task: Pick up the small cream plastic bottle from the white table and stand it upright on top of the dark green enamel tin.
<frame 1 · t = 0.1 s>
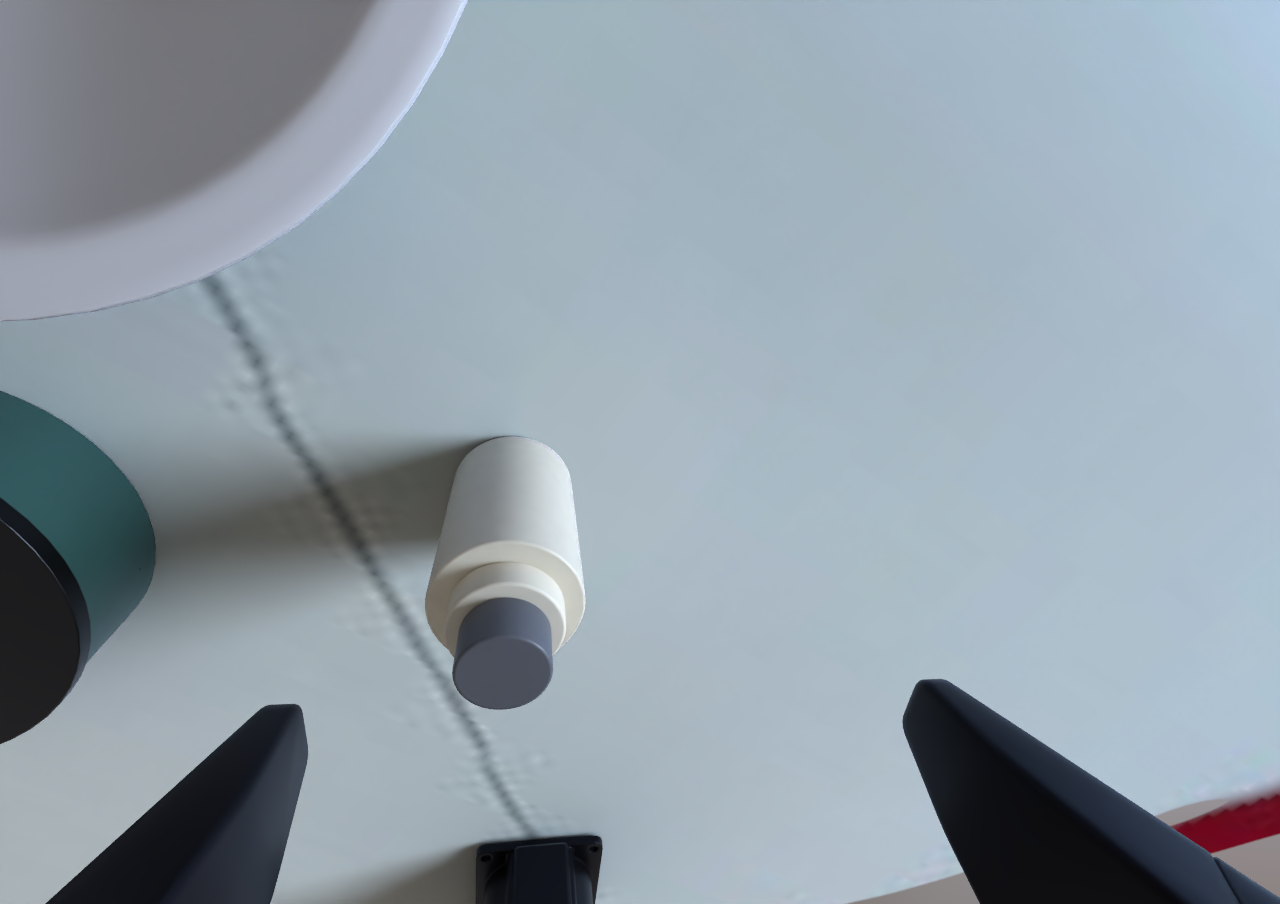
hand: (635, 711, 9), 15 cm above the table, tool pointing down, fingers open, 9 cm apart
bottle: (513, 488, 23), on the table
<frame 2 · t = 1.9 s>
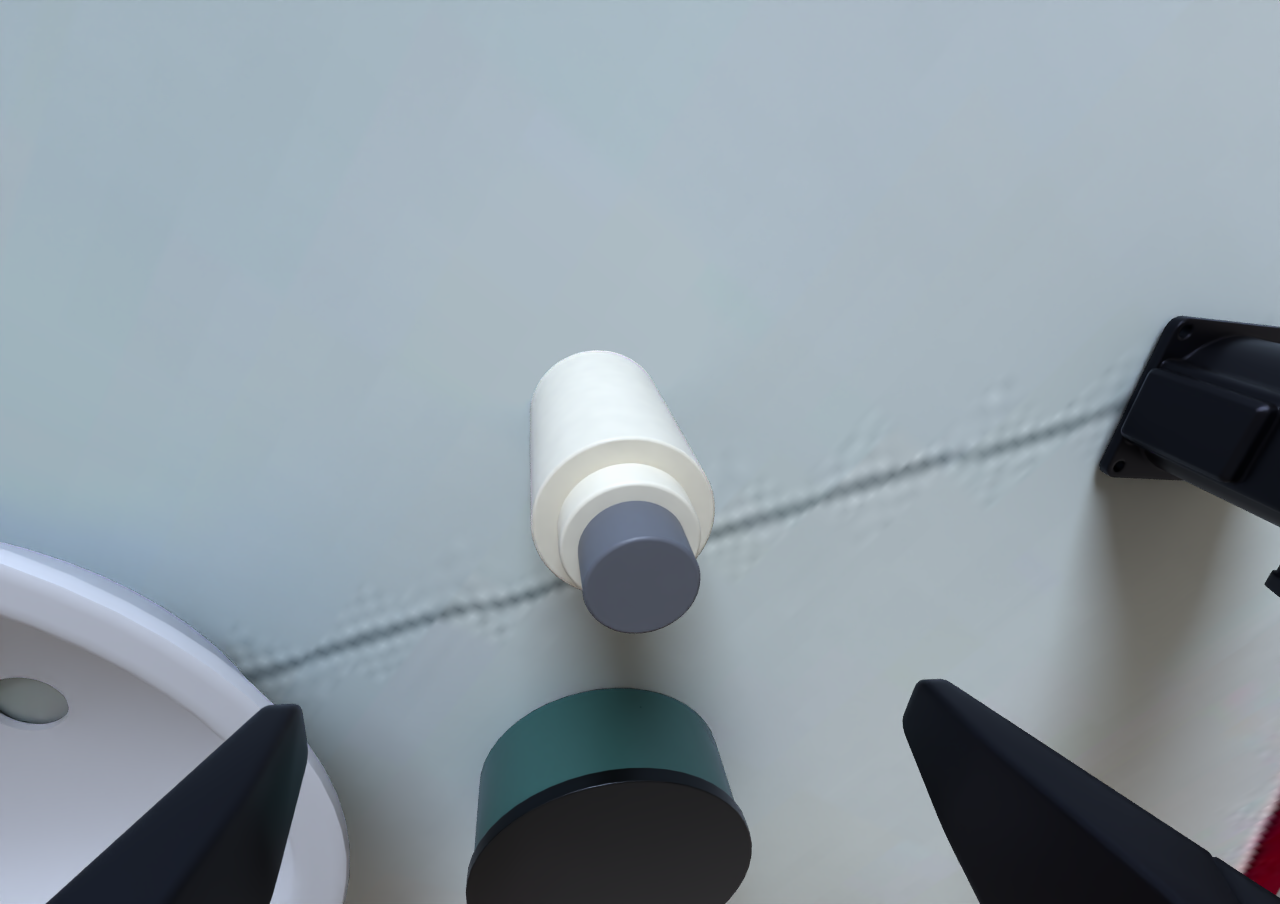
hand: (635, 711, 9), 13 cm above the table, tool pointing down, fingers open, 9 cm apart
enamel tin: (601, 776, 28), on the table
bottle: (596, 413, 21), on the table
soup bowl: (37, 692, 22), on the table
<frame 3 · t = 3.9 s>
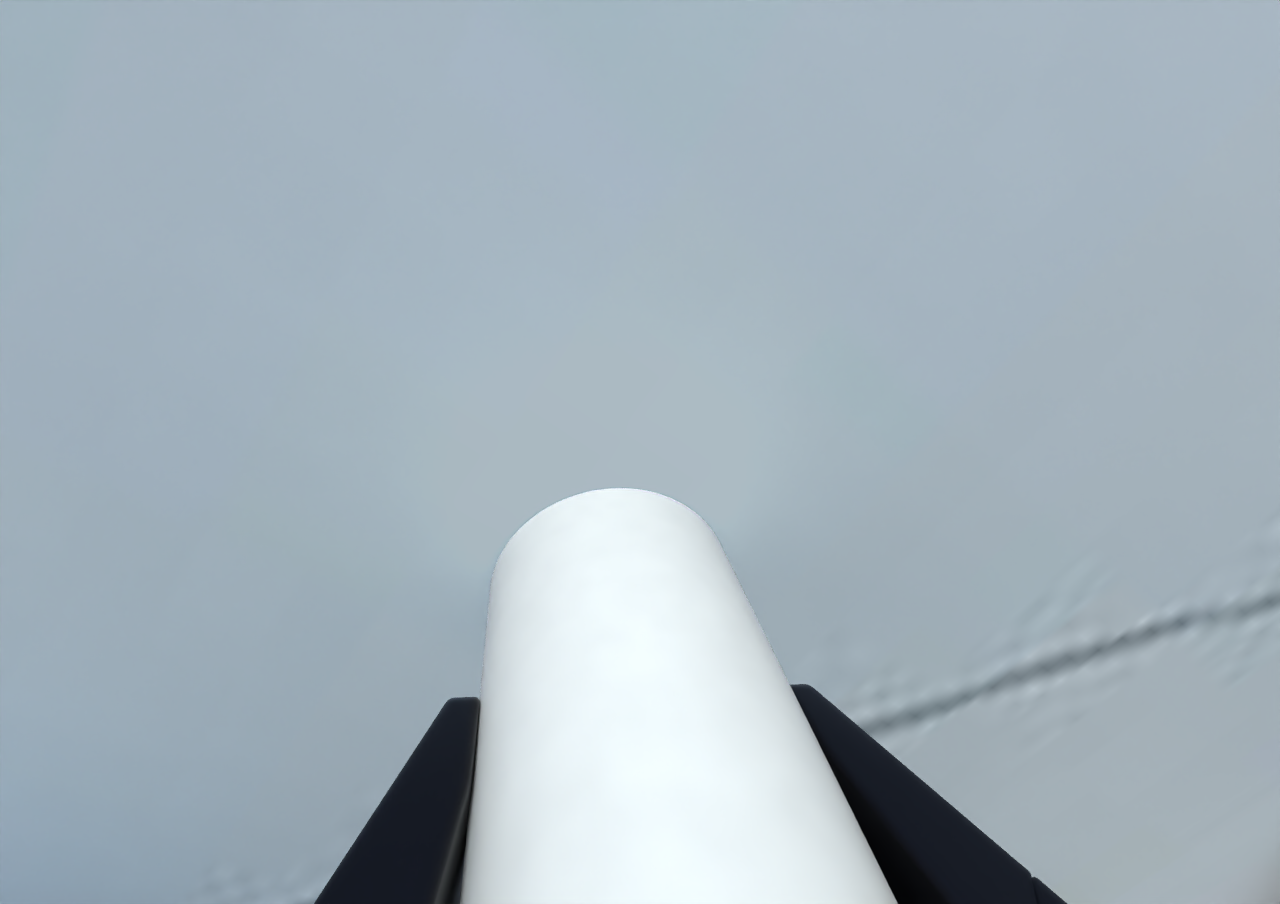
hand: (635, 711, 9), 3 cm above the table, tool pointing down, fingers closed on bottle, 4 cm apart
bottle: (611, 590, 11), on the table, touching gripper
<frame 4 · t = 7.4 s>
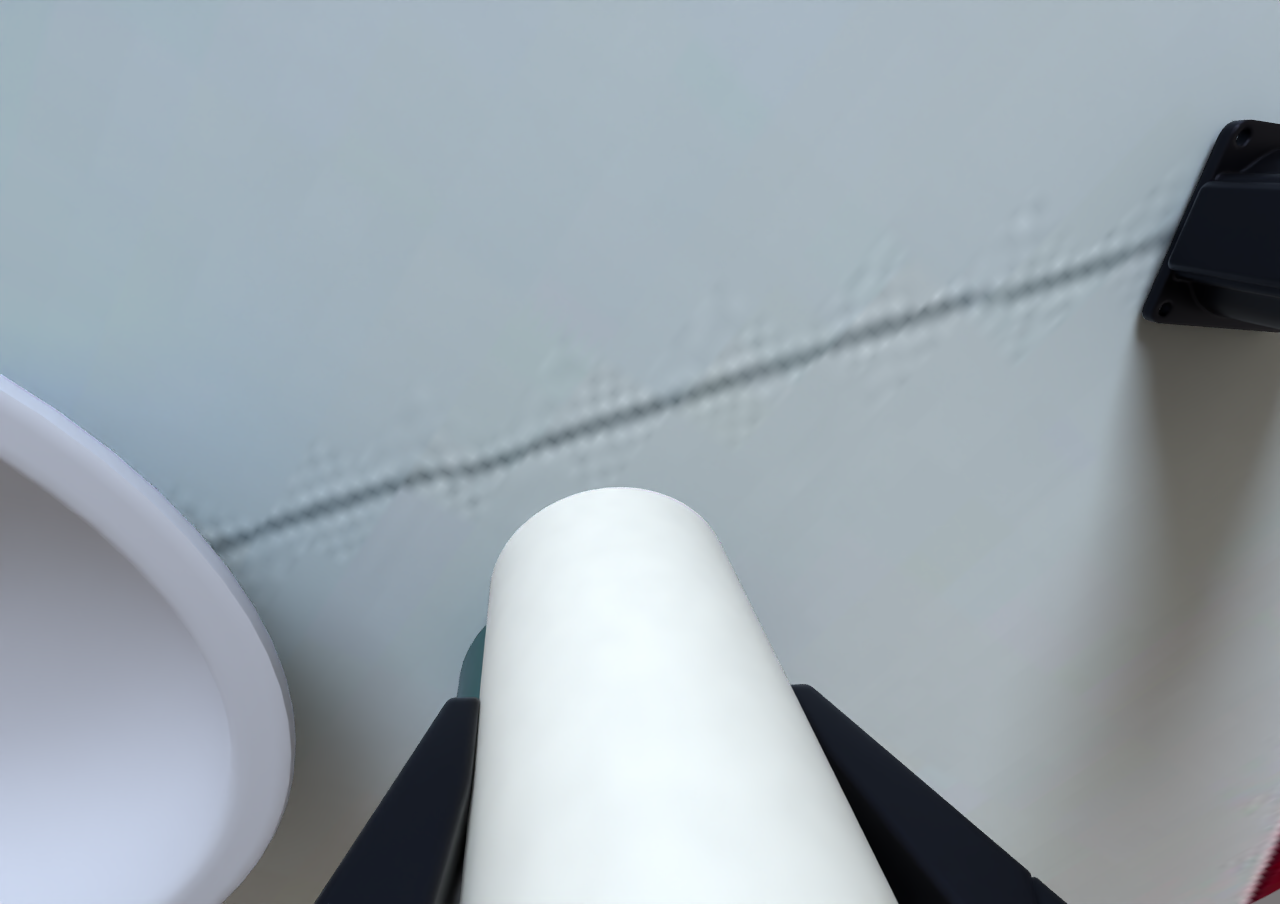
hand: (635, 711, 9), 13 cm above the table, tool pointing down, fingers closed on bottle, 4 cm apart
enamel tin: (593, 681, 26), on the table
bottle: (611, 589, 11), point 10 cm above the table, touching gripper
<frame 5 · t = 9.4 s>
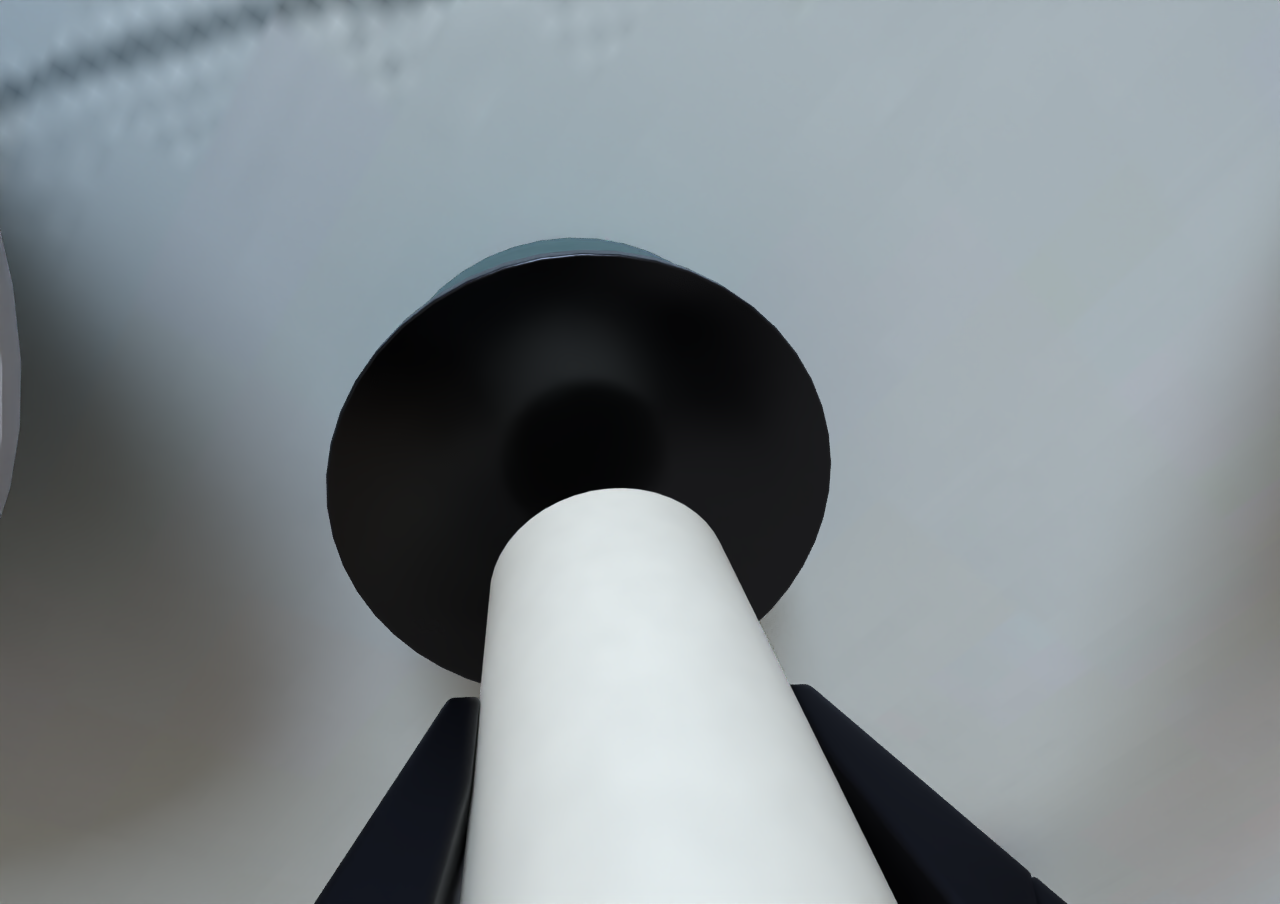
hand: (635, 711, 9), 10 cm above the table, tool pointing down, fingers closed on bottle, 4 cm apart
enamel tin: (580, 433, 18), on the table
bottle: (611, 590, 11), point 8 cm above the table, touching gripper
when the fingers open (7 cm above the table, at t = 10.7 s): bottle stays where it is, resting on enamel tin.
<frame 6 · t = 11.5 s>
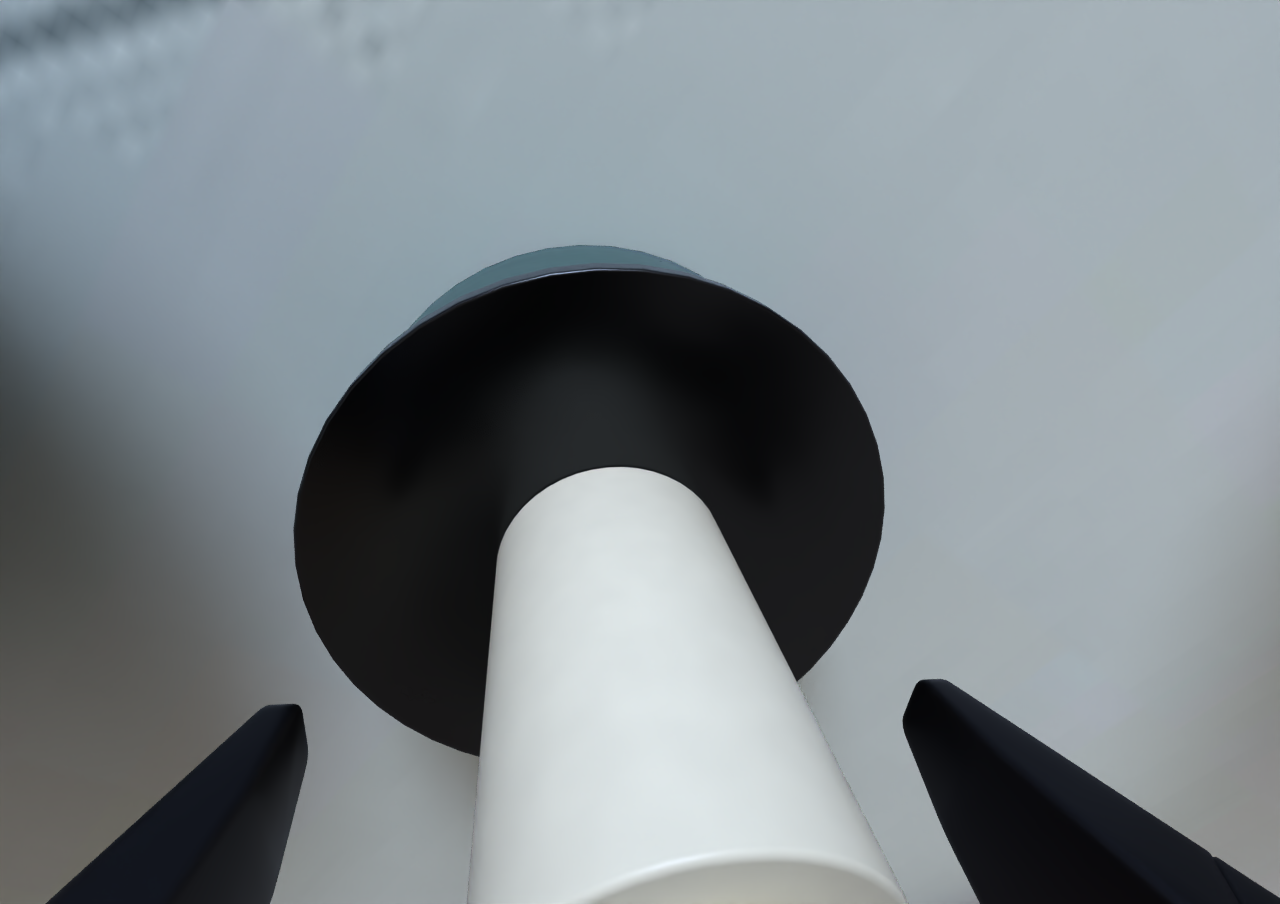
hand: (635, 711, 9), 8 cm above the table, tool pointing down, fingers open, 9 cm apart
enamel tin: (590, 464, 16), on the table, touching bottle
bottle: (611, 565, 12), point 5 cm above the table, touching enamel tin
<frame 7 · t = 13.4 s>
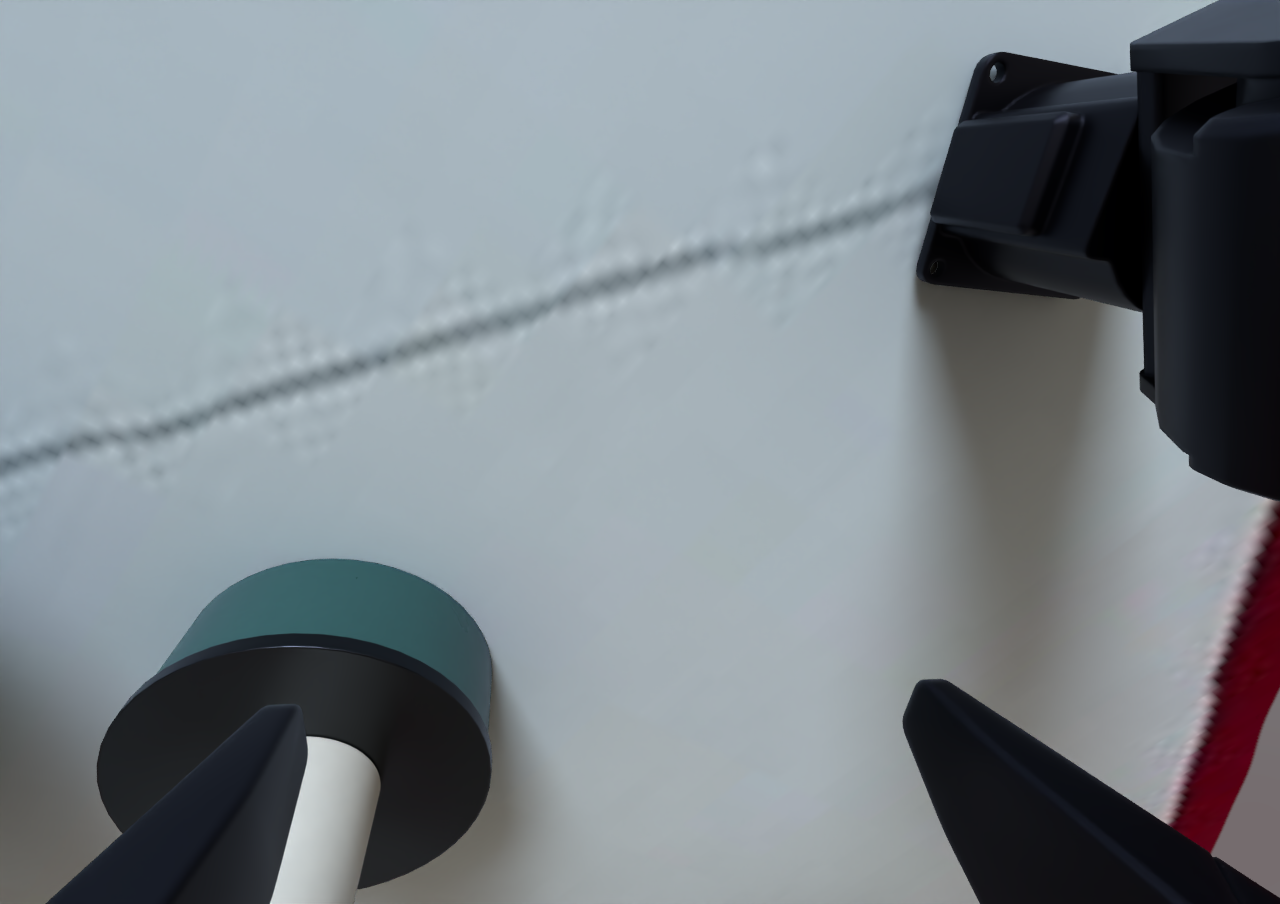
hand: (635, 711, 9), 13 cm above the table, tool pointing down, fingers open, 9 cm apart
enamel tin: (345, 677, 24), on the table, touching bottle
bottle: (307, 784, 19), point 5 cm above the table, touching enamel tin
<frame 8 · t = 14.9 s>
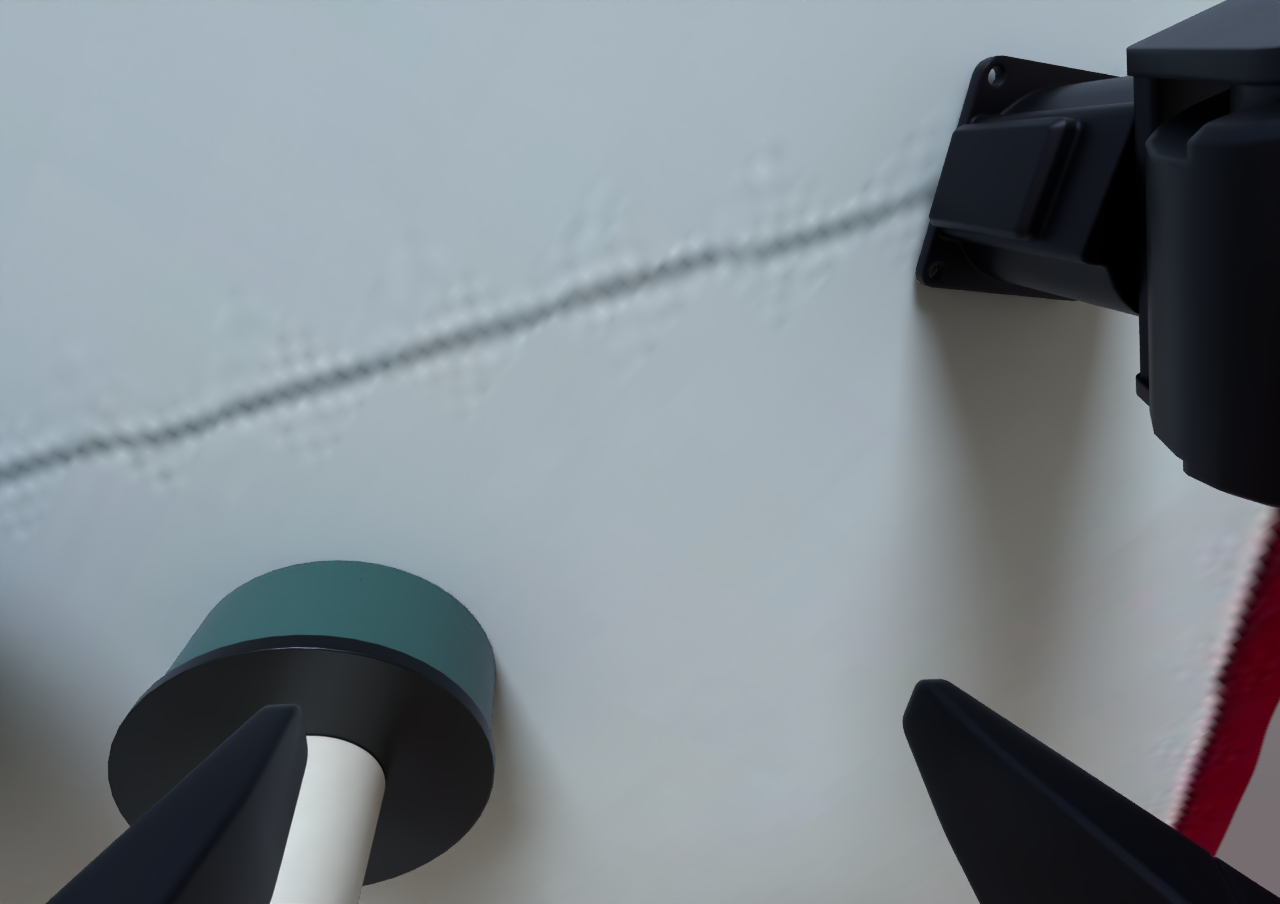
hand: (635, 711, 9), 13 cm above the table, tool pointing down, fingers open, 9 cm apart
enamel tin: (350, 677, 24), on the table, touching bottle
bottle: (313, 783, 20), point 5 cm above the table, touching enamel tin
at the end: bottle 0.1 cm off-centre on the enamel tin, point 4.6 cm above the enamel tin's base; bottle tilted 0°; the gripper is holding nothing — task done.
